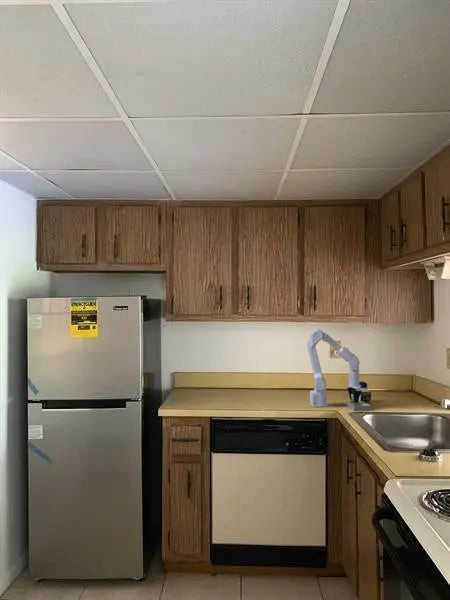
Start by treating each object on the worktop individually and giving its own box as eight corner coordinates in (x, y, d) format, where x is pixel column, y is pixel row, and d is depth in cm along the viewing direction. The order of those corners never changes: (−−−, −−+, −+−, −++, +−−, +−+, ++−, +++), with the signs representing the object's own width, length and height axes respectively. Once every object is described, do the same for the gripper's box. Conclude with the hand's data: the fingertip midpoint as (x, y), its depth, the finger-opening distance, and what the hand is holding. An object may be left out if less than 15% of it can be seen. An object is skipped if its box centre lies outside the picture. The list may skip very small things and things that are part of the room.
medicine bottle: (360, 403, 288) (360, 383, 288) (354, 401, 295) (354, 381, 295) (371, 402, 290) (371, 382, 290) (364, 400, 297) (364, 380, 297)
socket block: (354, 410, 269) (354, 406, 269) (346, 405, 282) (346, 401, 282) (371, 410, 270) (371, 405, 270) (363, 405, 283) (363, 400, 283)
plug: (352, 407, 277) (352, 395, 277) (350, 406, 280) (350, 394, 280) (357, 407, 277) (357, 395, 277) (355, 406, 280) (355, 394, 280)
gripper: (365, 379, 272) (365, 403, 272) (356, 375, 286) (356, 398, 286) (353, 379, 271) (353, 404, 271) (344, 375, 286) (344, 398, 286)
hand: (354, 401), depth 279 cm, fingers open, 5 cm apart
